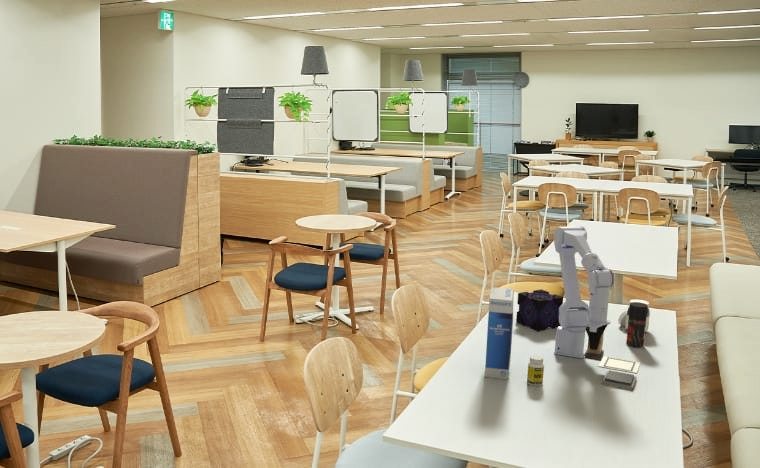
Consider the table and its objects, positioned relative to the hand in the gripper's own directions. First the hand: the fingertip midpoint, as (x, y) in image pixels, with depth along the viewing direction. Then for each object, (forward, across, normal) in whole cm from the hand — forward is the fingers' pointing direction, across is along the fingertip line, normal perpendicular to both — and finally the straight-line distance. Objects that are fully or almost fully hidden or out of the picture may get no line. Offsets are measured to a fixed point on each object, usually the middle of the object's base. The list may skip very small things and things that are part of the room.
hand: (594, 347), depth 231 cm
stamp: (+3, 0, 0) cm, 3 cm away
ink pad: (+8, -6, -9) cm, 13 cm away
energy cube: (+8, +37, +27) cm, 46 cm away
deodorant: (+8, +32, -9) cm, 34 cm away
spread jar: (+8, +49, -6) cm, 50 cm away
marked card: (+8, +9, -7) cm, 14 cm away
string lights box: (+8, -16, +27) cm, 32 cm away
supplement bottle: (+8, -20, +14) cm, 26 cm away
